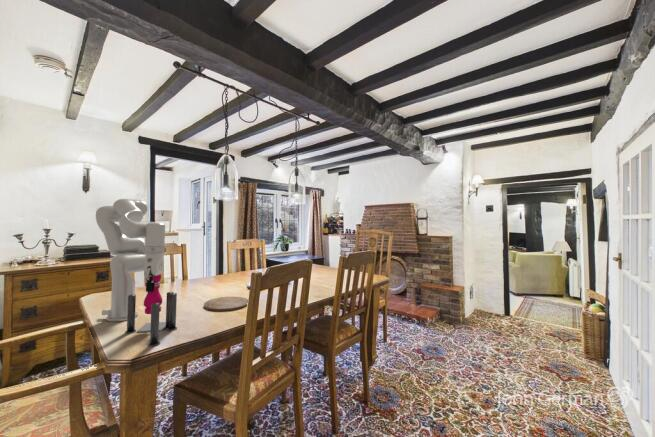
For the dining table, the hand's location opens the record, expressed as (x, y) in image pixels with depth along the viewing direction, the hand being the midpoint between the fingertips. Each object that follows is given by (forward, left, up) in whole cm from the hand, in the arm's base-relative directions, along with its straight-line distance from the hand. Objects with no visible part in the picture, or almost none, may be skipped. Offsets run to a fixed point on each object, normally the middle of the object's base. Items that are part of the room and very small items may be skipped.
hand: (152, 289), depth 123 cm
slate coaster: (0, +2, -18) cm, 18 cm away
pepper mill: (0, +1, -10) cm, 10 cm away
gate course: (0, -8, -18) cm, 20 cm away
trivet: (+28, +33, -19) cm, 48 cm away
